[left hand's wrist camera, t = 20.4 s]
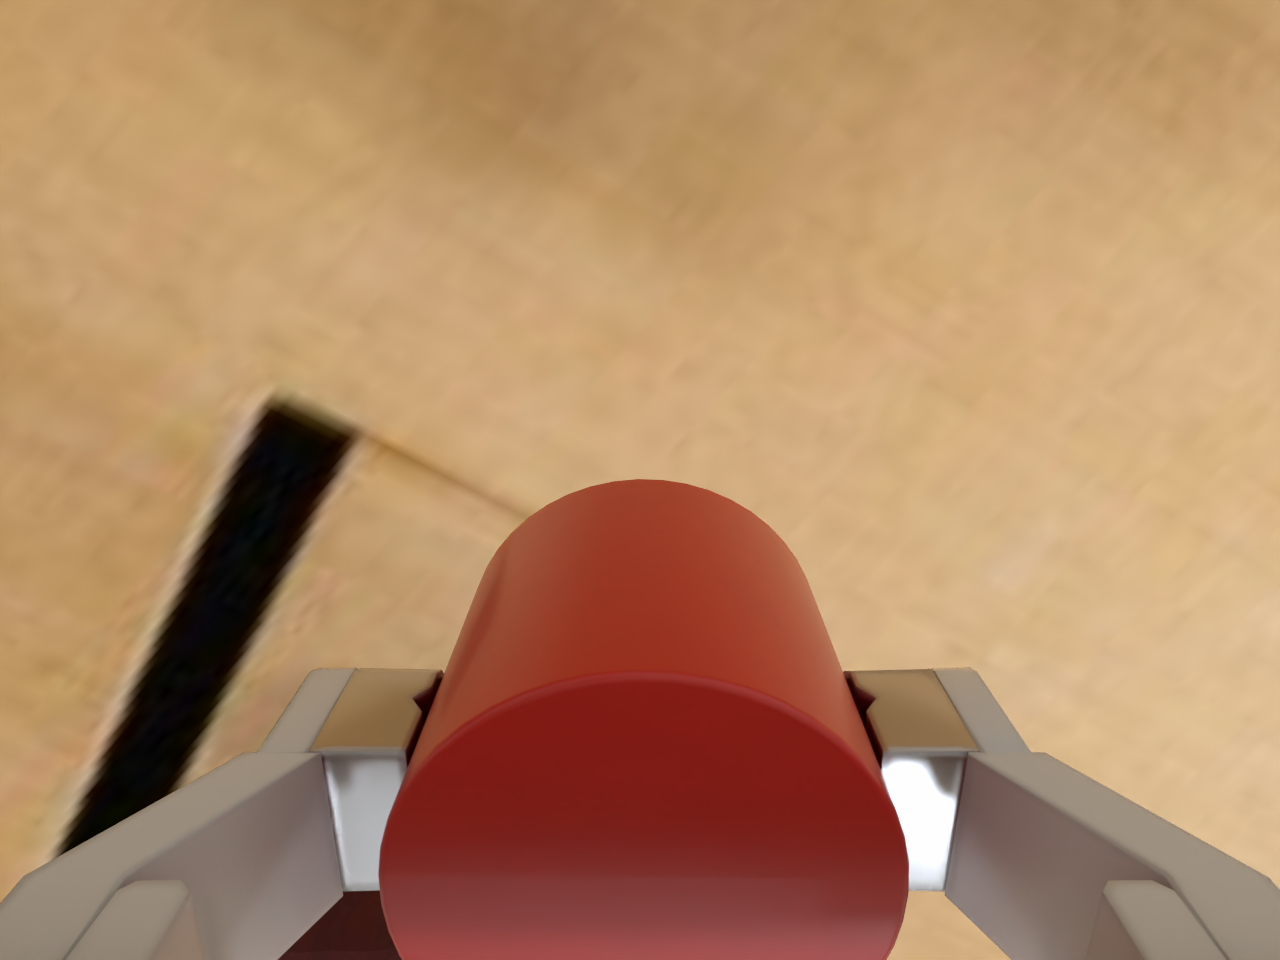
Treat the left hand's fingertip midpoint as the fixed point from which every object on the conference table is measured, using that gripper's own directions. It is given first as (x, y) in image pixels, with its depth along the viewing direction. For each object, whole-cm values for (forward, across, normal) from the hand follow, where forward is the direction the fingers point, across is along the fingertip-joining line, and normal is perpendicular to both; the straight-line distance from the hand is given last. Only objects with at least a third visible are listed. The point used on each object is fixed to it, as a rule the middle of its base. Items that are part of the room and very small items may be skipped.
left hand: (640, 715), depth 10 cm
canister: (+2, 0, 0) cm, 2 cm away
